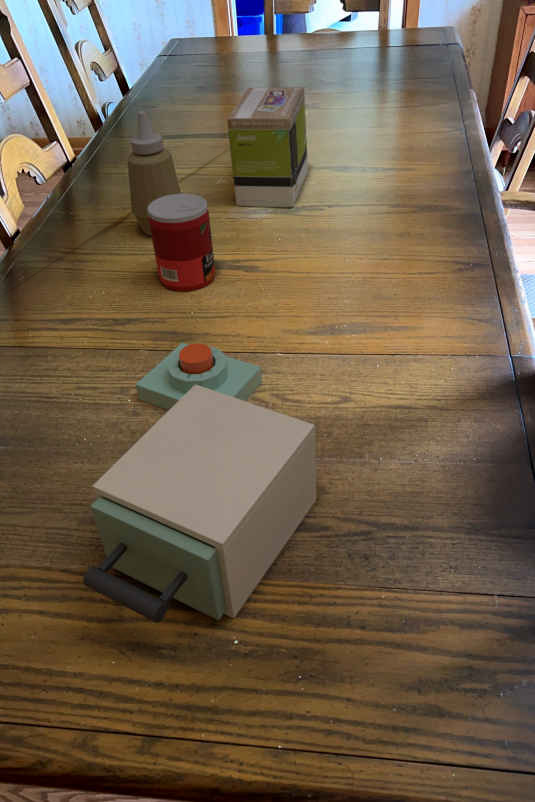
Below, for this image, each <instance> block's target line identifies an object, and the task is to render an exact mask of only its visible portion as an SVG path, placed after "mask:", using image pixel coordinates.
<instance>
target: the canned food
mask: <svg viewBox="0 0 535 802" xmlns="http://www.w3.org/2000/svg"><path fill="white" fill-rule="evenodd" d="M147 209H148V218H149V224H150V230H151V235H150V236H151V240H152V246H153V252H154V257H155V262H156V268H157V274H158V278H159V280H160V282H161V284H162V286H164V287H165V288H166V289H169V290H172V291H177V292H192V291H196V290H201V289H203V288H204V287H207V286H208V285H210V284H211V283H212V282H213V281H214V278H215V275H216V274H215V273H216V266H215V265H216V264H215V256H214V247H213V238H212V230H211V229H212V228H211V221H210V213H209V206H208V202H207V200H206V199H205V198H204V197H202V196H200V195H197V194H194V193H193V194H192V193H181V194H172V195H167V196H164V197H161V198H158V199H156V200H154V201H153V202H151V203H150V204H149V206H148V208H147Z"/></svg>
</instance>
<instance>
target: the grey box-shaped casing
mask: <svg viewBox="0 0 535 802" xmlns="http://www.w3.org/2000/svg"><path fill="white" fill-rule="evenodd" d="M316 464H317V463H316V425H315V424H314V423H310V422H308V421H305V420H301V419H299V418H296V417H293V416H289V415H287V414H283V413H281V412H278V411H275V410H272V409H269V408H267V407H263V406H260V405H257V404H254V403H252V402H249V401H246V400H245V401H243V400H240V399H237V398H234V397H231V396H228V395H225V394H222V393H219V392H216V391H213V390H210V389H207V388H204V387H201V386H199V385H194V386H193V387H192V388H191V389H190V390H189V391H188V392H187V393H186V394H185V395H184V396H183V397H182V398H181V399H180V400H179V401H178V402H177V403H176V404H175V405H174V406H173V407H172V408H171V409H170V410H167V412H166V413H165V414H164V415H163V416H161V418H159V420H157V421H156V422H155V423H154V424H153V425H152V426H151V428H149V429H148V430H147V431H146V432H145V433H144V434H143V435H142V436H141V437H140V438H139V439H138V440H137V441H136V442H135V443H134V444H133V445H132V446H131V447H130V448H129V449H128V450H127V451H126V452H125V453H123V455H122V456H121V457H120V458H119V459H118V460H117V461H116V462H114V464H113V465H112V466H111V467H110V468H109V469H108V470H107V471H106V472H105V473H103V474H102V475H101V477H100V478H99V479H98V480H97V481H95V483H94V484H93V485H92V490H93V494H94V497H95V501H96V500H97V499H98V498H99V497H102V498H104V499H106V500H108V501H111V502H113V503H115V504H117V505H119V506H122V505H123V506H125V507H128V508H130V509H132V510H134V511H137V512H139V513H141V514H143V515H146V516H148V517H150V518H152V519H154V520H157V521H159V522H161V523H163V524H166V525H168V526H170V527H172V528H174V529H177V530H179V531H181V532H183V533H186V534H188V535H190V536H192V537H195V538H197V539H199V540H201V541H203V542H206V543H208V544H210V545H212V546H215V549H216V550H217V556H218V562H219V568H220V574H221V580H222V586H223V592H224V598H225V605H226V611H225V612H224V614H223V615H225V616H228V617H230V618H232V619H235V618H236V616H237V615H238V613H239V612H240V611H241V609H242V608H243V606H244V605H245V604H246V602H247V601H248V600H249V598H250V596H251V595H252V593H253V592H254V591H255V589H256V588H257V586H258V585H259V583H260V582H261V581H262V579H263V578H264V576H265V574H266V573H267V571H269V568H270V567H271V566H272V564H273V563H274V562H275V560H276V558H278V556H279V554H280V553H281V552H282V550H283V548H284V547H285V546H286V544H287V543H288V541H290V539H291V537H292V535H293V534H294V533H295V531H296V530H297V528H298V527H299V525H300V524H301V523H302V521H303V520H304V518H305V517H306V515H307V514H308V512H309V511H310V510H311V508H312V506H313V505H314V504H315V503H316V501H317V470H316V469H317V467H316Z"/></svg>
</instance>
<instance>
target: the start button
mask: <svg viewBox="0 0 535 802" xmlns="http://www.w3.org/2000/svg"><path fill="white" fill-rule="evenodd" d="M209 346H210V345H207V344H204V343H191V344H189V345H188V346H185V347H184V348H183V349H181V351H180V352H179V359H180V365H181V369H182V371H183V372H184V373H187V374H202V373H204V372H207V371H210V370H211V369H212V367H213V357H212V350H211V348H210V347H209Z"/></svg>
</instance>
